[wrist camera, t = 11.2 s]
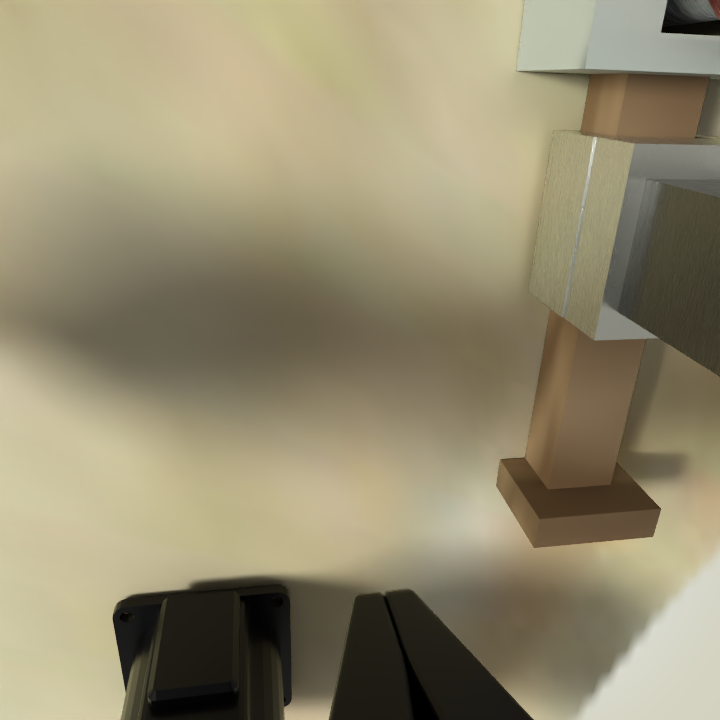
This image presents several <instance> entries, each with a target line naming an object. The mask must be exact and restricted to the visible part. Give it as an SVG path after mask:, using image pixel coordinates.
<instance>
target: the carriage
mask: <svg viewBox="0 0 720 720" xmlns="http://www.w3.org/2000/svg"><path fill="white" fill-rule="evenodd" d="M528 292H529V293H530V294H532V295H533V296H534V297H536V298H537V299H538V300H540V301H541V302H542V303H544V304H545V305H546V306H548V307H549V308H550V309H551V310H553V311H554V312H555V313H557V314H558V315H559V316H561V317H564V318H565V319H566V320H568V321H569V322H570V323H572V324H573V325H574V326H576V327H577V328H578V329H580V330H581V331H582V332H584V333H585V334H586V335H587V336H589V337H590V338H591V339H593V340H623V339H652V338H660V339H661V340H663V341H664V342H666V343H668V344H669V345H671V346H672V347H674V348H675V349H677V350H679V351H680V352H682V353H683V354H685V355H687V356H688V357H690V358H691V359H693V360H695V361H696V362H698V363H699V364H701V365H702V366H704V367H706V368H707V369H709V370H710V371H712V372H714V373H715V374H717V375H718V376H720V137H712V136H704V135H696V136H695V138H656V137H614V136H605V135H598V134H592V133H586V132H579V131H562V130H553V133H552V140H551V146H550V153H549V159H548V166H547V172H546V179H545V185H544V192H543V199H542V205H541V212H540V218H539V225H538V231H537V238H536V244H535V251H534V258H533V264H532V271H531V277H530V284H529V290H528Z"/></svg>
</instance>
